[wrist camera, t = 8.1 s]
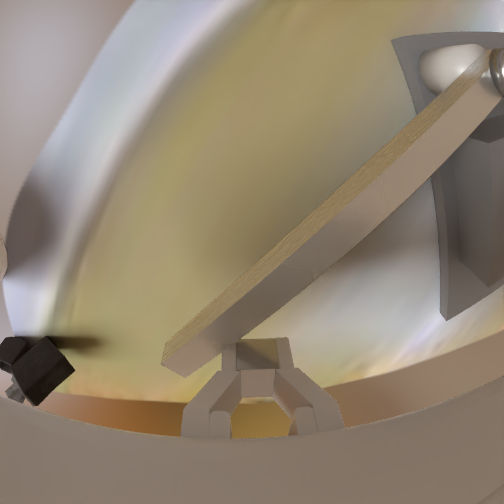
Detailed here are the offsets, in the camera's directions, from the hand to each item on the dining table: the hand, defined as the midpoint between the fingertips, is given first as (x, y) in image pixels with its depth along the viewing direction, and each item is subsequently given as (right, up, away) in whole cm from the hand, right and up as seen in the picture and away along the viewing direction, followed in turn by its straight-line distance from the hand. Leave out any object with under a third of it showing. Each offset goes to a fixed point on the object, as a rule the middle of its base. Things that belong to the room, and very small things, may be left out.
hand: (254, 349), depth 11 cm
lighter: (-17, -4, +6) cm, 18 cm away
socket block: (+15, +8, +2) cm, 17 cm away
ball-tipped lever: (+3, +5, -2) cm, 7 cm away
